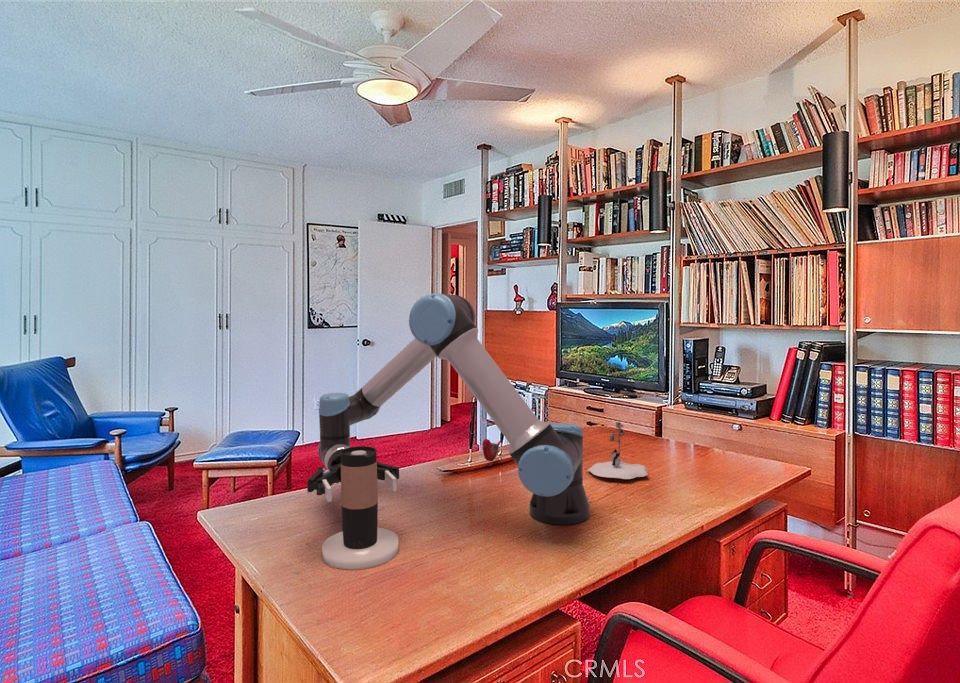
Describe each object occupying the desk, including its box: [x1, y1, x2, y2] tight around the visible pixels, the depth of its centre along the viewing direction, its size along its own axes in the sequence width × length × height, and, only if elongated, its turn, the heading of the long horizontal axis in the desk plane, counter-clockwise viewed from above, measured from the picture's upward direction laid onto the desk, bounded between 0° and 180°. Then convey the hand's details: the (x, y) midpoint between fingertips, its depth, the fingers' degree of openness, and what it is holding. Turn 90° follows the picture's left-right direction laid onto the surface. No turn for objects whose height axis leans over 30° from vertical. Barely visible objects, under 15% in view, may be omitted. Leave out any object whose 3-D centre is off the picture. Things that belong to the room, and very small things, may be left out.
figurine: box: [587, 421, 649, 480], centre depth 166 cm, size 20×18×16 cm
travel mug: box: [340, 445, 379, 549], centre depth 113 cm, size 8×8×20 cm
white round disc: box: [321, 526, 400, 571], centre depth 114 cm, size 16×16×2 cm
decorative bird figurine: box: [482, 438, 502, 467], centre depth 177 cm, size 3×18×10 cm, turn 158°
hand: (363, 490), depth 110 cm, fingers open, 13 cm apart
